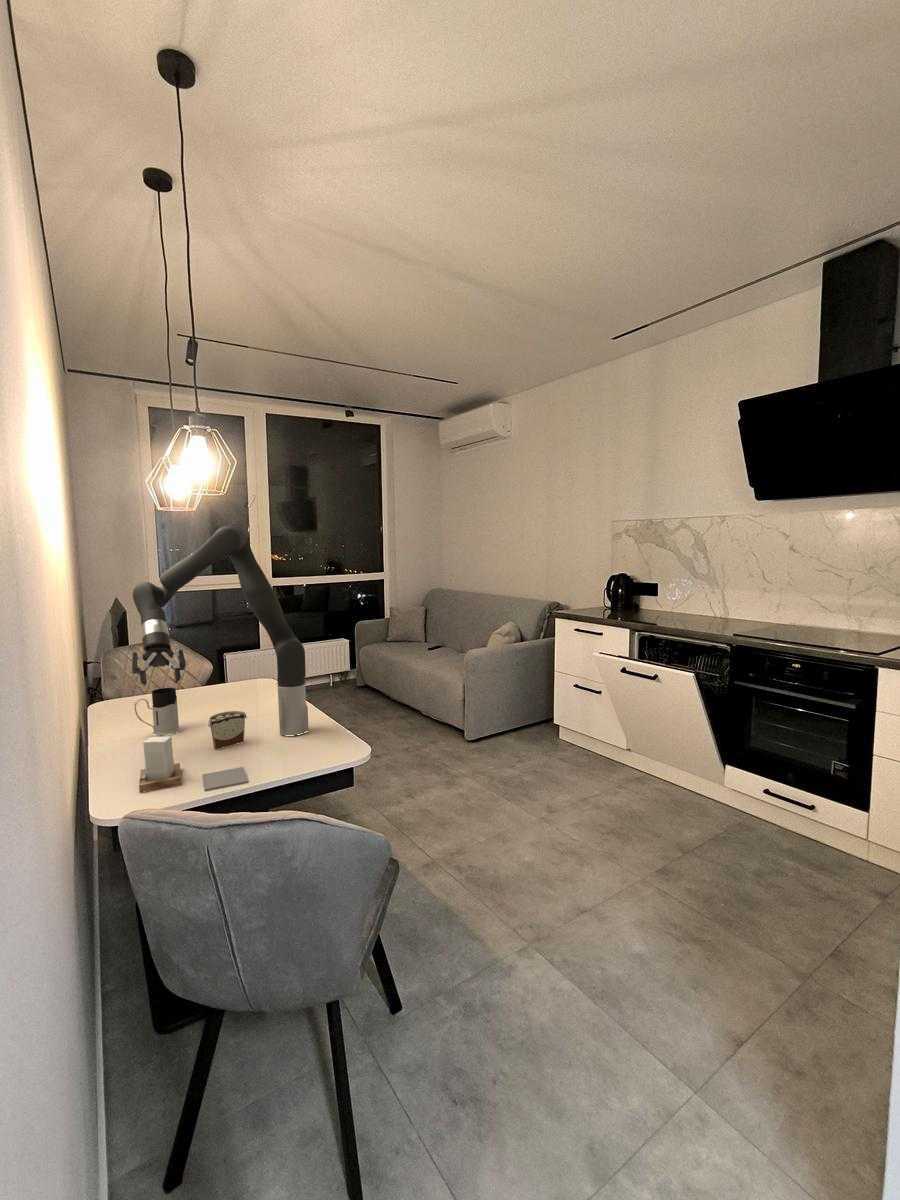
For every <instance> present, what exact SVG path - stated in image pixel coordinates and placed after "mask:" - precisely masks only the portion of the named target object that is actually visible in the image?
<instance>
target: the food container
mask: <svg viewBox="0 0 900 1200" xmlns="http://www.w3.org/2000/svg"><path fill="white" fill-rule="evenodd" d="M247 718H248V717H247V714H246V712H244V711H242V710H240V711H239V710H234V711H233V710H231V711H230V710H228V711H224V712H219V713H216V714H215V713H214V714H213V715H211V716H210V717H209V719H208V722H207V726H208V727H209V728H210V731H211V736H212V738H211V739H212V743H213V749H214V750H215V751H216V750H220V748H221V749H224V748H223V747H225V748H227V747H231V745H232V746H235V745H234V744H236V745H238V744H237V743H240V744H242V743H241V742H243V743H245V725H246V719H247Z"/></svg>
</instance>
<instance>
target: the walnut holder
mask: <svg viewBox="0 0 900 1200" xmlns="http://www.w3.org/2000/svg"><path fill="white" fill-rule="evenodd" d="M174 775H175V777H171V778H166V779H160V780H155V781H149V782H147V781H146V768H142V769H140V774H139V783H138V788H139V789H138V790H139V793H140V792H141V793H144V792H143V791H146V792H150V791H149V790H151V791H155V790H161V789H167V788H173V787H177V786H181V785H182V778H181V763H180V762H176V763H174Z"/></svg>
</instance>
